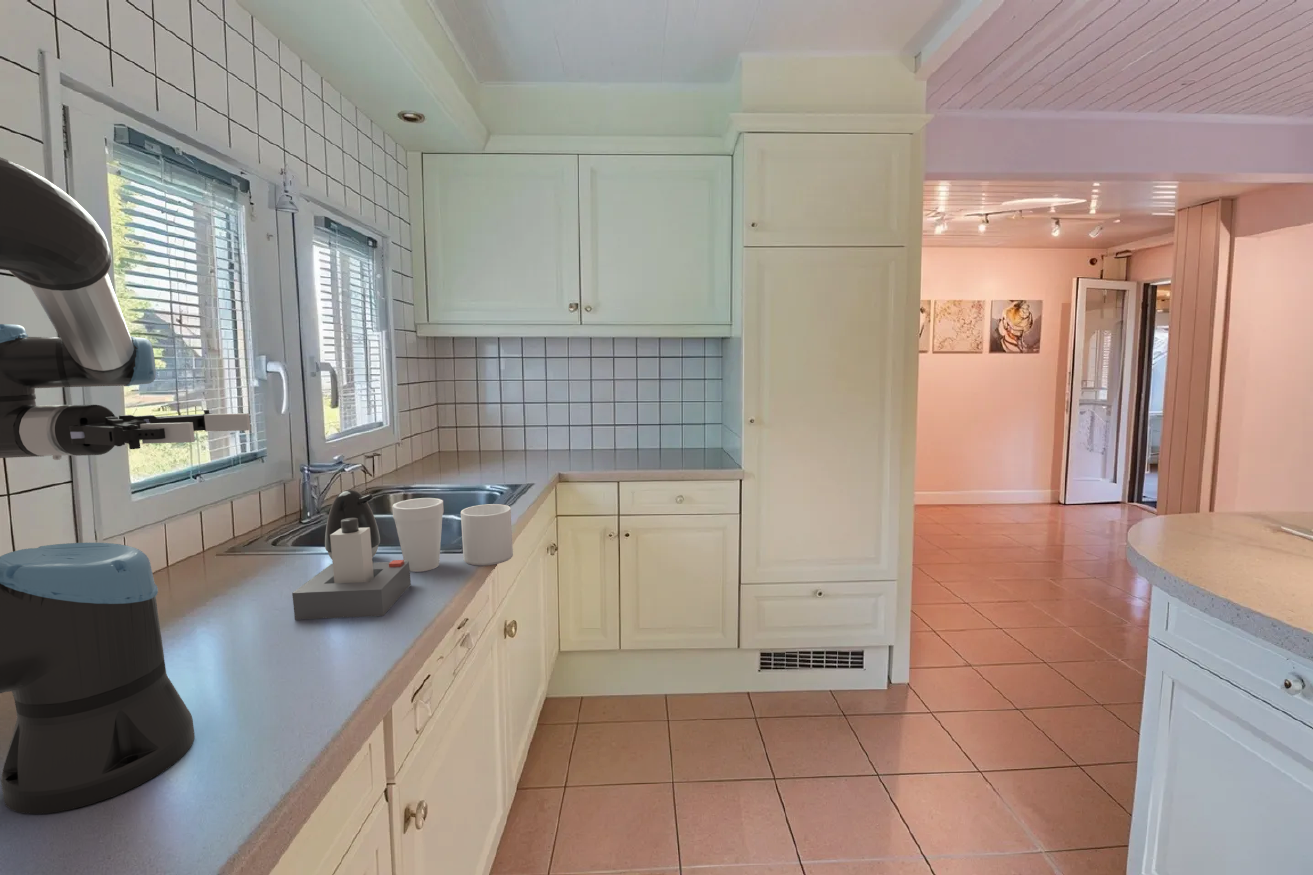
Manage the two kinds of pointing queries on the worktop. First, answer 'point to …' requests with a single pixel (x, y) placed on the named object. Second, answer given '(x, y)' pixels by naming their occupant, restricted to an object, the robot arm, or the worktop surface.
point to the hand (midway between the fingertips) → (222, 426)
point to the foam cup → (419, 531)
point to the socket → (352, 593)
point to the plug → (351, 553)
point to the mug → (486, 534)
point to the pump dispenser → (352, 516)
